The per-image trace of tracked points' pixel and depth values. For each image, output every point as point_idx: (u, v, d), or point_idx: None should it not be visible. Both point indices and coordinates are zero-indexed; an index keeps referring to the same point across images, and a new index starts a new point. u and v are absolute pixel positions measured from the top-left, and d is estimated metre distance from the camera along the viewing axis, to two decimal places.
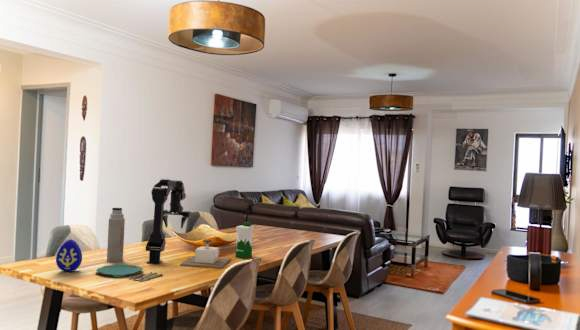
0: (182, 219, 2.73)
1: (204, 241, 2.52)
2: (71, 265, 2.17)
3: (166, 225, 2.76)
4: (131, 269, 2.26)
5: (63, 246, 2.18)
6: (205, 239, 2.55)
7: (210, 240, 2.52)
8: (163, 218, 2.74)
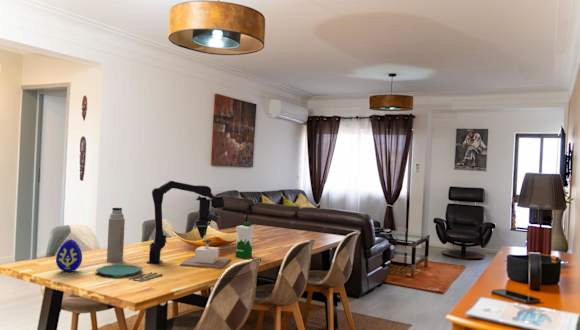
0: None
1: (204, 241, 2.52)
2: (71, 265, 2.17)
3: None
4: (131, 269, 2.26)
5: (63, 246, 2.18)
6: (205, 239, 2.55)
7: (210, 240, 2.52)
8: None
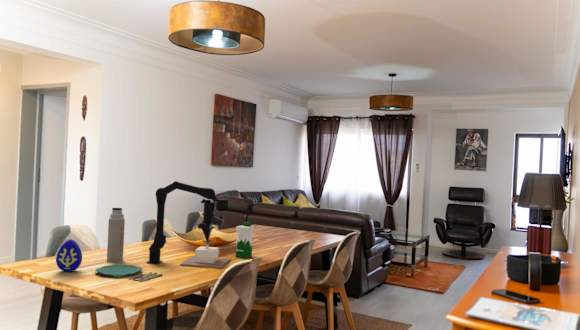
0: None
1: (204, 241, 2.52)
2: (71, 265, 2.17)
3: (205, 237, 2.54)
4: (130, 269, 2.26)
5: (63, 246, 2.18)
6: None
7: (210, 240, 2.52)
8: None
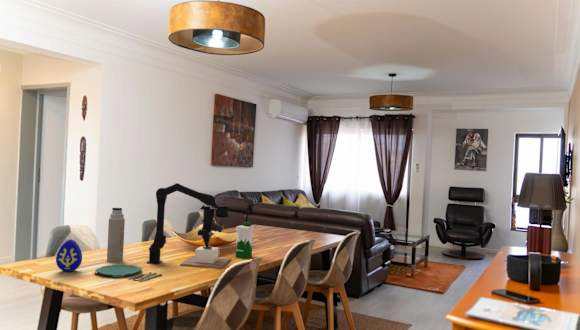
0: None
1: (204, 248, 2.52)
2: (71, 265, 2.17)
3: None
4: (130, 269, 2.26)
5: (63, 246, 2.18)
6: (205, 246, 2.55)
7: (210, 247, 2.52)
8: None
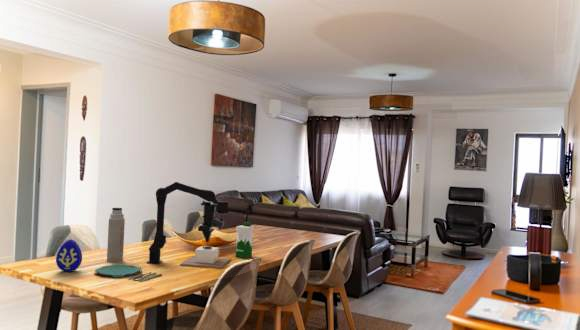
0: None
1: (204, 248, 2.52)
2: (71, 265, 2.17)
3: (206, 239, 2.54)
4: (130, 269, 2.26)
5: (63, 246, 2.18)
6: (205, 246, 2.55)
7: (210, 247, 2.52)
8: None
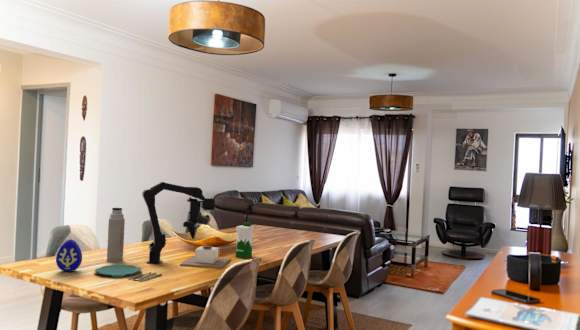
0: None
1: (204, 248, 2.52)
2: (71, 265, 2.17)
3: None
4: (130, 269, 2.26)
5: (63, 246, 2.18)
6: (205, 246, 2.55)
7: (210, 247, 2.52)
8: None
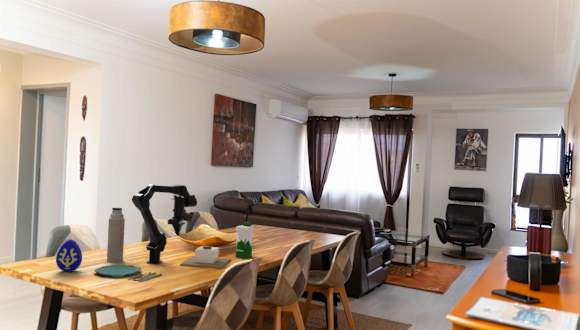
0: None
1: (204, 248, 2.52)
2: (71, 265, 2.17)
3: (176, 233, 2.59)
4: (129, 269, 2.26)
5: (63, 246, 2.18)
6: (205, 246, 2.55)
7: (210, 247, 2.52)
8: None
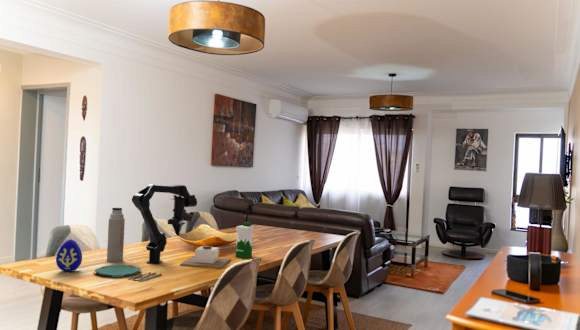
0: None
1: (204, 248, 2.52)
2: (71, 265, 2.17)
3: (176, 233, 2.59)
4: (129, 269, 2.26)
5: (63, 246, 2.18)
6: (205, 246, 2.55)
7: (210, 247, 2.52)
8: None
